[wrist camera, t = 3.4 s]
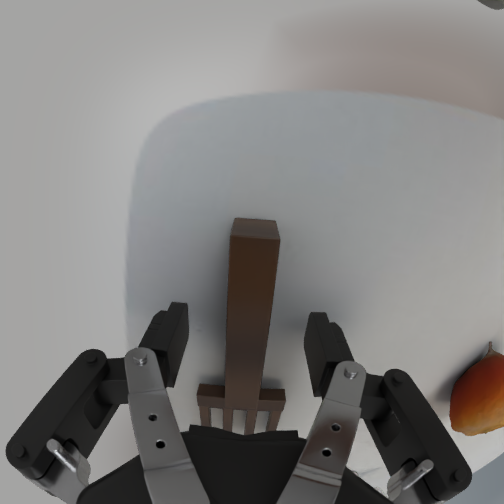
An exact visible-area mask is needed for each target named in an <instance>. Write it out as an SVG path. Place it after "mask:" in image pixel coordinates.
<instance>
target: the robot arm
mask: <svg viewBox="0 0 504 504" xmlns="http://www.w3.org/2000/svg"><path fill="white" fill-rule="evenodd" d="M188 337H189V320H188V305H187V303H180V302H172V303H171V305H170V307H169V309H168V311H162V310H161V311H160V312H158V313H157V314H156V315H155V316H154V317H153V319H152V321H151V324H150V325H149V327H148V329H147V331H146V333H145V334H144V336H143V338H142V340H141V342H140V344H139V346H138V348H134V349H132V350H130V351H129V352H127V354H126V355H125V357H124V358H111V359H107V358H106V355H105V354H104V352H102V351H100V350H98V349H90V350H86V351H84V352H83V353H81V354H80V355H79V356H78V357H77V358H76V360H75V361H74V362H73V363H72V364H71V365H70V366H69V368H68V369H67V370H66V371H65V372H64V373H63V375H62V376H61V377H60V378H59V379H58V380H57V381H56V383H55V384H54V385H53V386H52V388H51V389H50V390H49V391H48V393H46V395H45V396H44V397H43V398H42V400H41V401H40V402H39V403H38V404H37V406H36V407H35V408H34V409H33V411H32V412H31V413H30V415H29V416H28V417H27V418H26V420H25V421H24V422H23V423H22V425H21V426H20V427H19V429H18V430H17V431H16V433H15V434H14V436H13V437H12V438H11V439H10V441H9V442H8V444H7V446H6V456H7V459H8V461H9V462H10V464H11V465H12V466H14V467H15V468H16V469H17V470H19V471H20V472H21V473H22V474H23V476H25V477H26V478H27V479H29V480H30V481H31V482H32V483H34V484H35V485H36V486H38V487H39V488H41V489H43V490H45V491H46V492H47V493H49V494H50V495H52V496H55V497H58V498H60V499H61V500H63V501H64V502H66V503H67V504H443V503H445V502H446V501H448V500H449V499H451V498H453V497H454V496H455V495H457V494H459V493H460V492H462V491H463V490H465V489H466V488H467V487H468V486H469V484H470V482H471V480H472V472H471V469H470V467H469V465H468V464H467V462H466V460H465V459H464V457H463V456H462V454H461V452H460V451H459V449H458V447H457V446H456V444H455V443H454V441H453V439H452V438H451V436H450V435H449V433H448V432H447V430H446V429H445V427H444V426H443V424H442V422H441V421H440V419H439V418H438V416H437V415H436V413H435V412H434V410H433V409H432V408H431V406H430V405H429V403H428V402H427V400H426V399H425V397H424V396H423V394H422V393H421V391H420V390H419V389H418V387H417V386H416V384H415V383H414V382H413V380H412V379H411V377H410V376H409V375H408V374H407V373H406V372H404V371H402V370H399V369H391V370H388V371H387V372H386V373H385V374H384V376H378V375H372V374H368V373H366V370H365V368H364V367H363V366H362V365H361V364H359V363H357V362H355V361H354V359H353V356H352V354H351V351H350V349H349V346H348V344H347V343H346V342H347V341H346V339H345V337H344V334H343V331H342V329H341V328H340V327H339V326H338V325H337V324H336V323H335V322H329V320H328V317H327V314H326V313H325V312H311V313H310V315H309V319H308V323H307V328H306V332H305V336H304V350H305V355H306V359H307V364H308V369H309V374H310V379H311V384H312V389H313V394H314V397H321V396H322V403H321V406H320V408H319V411H318V413H317V415H316V418H315V420H314V423H313V425H312V427H311V430H310V432H309V434H308V436H307V438H306V439H304V438H300V437H298V431H297V430H289V431H267V432H261V433H256V434H250V435H240V434H237V433H233V432H230V431H226V430H223V429H219V428H216V427H207V426H199V425H191V424H190V427H189V431H185V432H180V430H179V427H178V424H177V421H176V419H175V416H174V413H173V410H172V406H171V403H170V400H169V397H168V394H167V391H166V387H172V388H174V385H175V381H176V378H177V375H178V371H179V368H180V364H181V361H182V358H183V354H184V351H185V348H186V345H187V341H188ZM120 404H129V409H130V414H131V419H132V424H133V429H134V434H135V438H136V442H137V447H138V451H139V455H137V456H136V457H135V458H133V459H132V460H130V461H128V462H127V463H125V464H123V465H122V466H120V467H119V468H117V469H116V470H114V471H112V472H110V473H109V474H107V475H106V476H104V477H102V478H100V479H98V480H97V481H95V482H93V483H92V484H90V485H89V483H88V478H89V475H90V470H91V468H90V464H89V462H88V461H87V458H88V457H89V455H90V453H91V452H92V450H93V448H94V446H95V445H96V443H97V441H98V440H99V438H100V436H101V435H102V433H103V431H104V430H105V428H106V427H107V425H108V423H109V422H110V420H111V418H112V417H113V415H114V413H115V412H116V410H117V409H118V407H119V405H120ZM395 415H396V416H395ZM360 418H363V420H364V422H365V424H366V426H367V428H368V430H369V432H370V434H371V436H372V438H373V440H374V442H375V445H376V447H377V449H378V451H379V453H380V455H381V457H382V459H383V461H384V463H385V466H386V468H387V470H388V472H389V474H390V476H391V477H390V479H389V481H388V483H387V494H388V498H387V497H385V496H384V495H383V494H381V493H380V492H378V491H377V490H376V489H374V488H373V487H372V486H370V485H369V484H368V483H366V482H365V481H364V480H362V479H361V478H360V477H358V476H357V475H356V474H355V473H353V472H352V471H351V470H350V469H348V468H347V467H346V464H347V461H348V458H349V455H350V451H351V448H352V445H353V441H354V438H355V434H356V431H357V427H358V423H359V419H360ZM399 422H400V423H399Z"/></svg>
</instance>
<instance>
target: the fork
mask: <svg viewBox="0 0 504 504" xmlns="http://www.w3.org/2000/svg"><path fill="white" fill-rule="evenodd" d="M279 248H280V236H279V232H278V228H277V224H276V221H271V220H258V219H244V218H235V219H234V223H233V227H232V231H231V235H230V249H229V271H228V296H227V325H226V363H225V386H219V385H209V384H201V383H200V384H199V386H198V391H197V402H198V406H199V410H200V418H201V426H207V427H212V426H211V410H210V407H212V408H222V409H223V430H226V431H230V432H232V423H233V409H234V410H247V414H246V423H245V431H244V435H250V434H254V428H255V422H256V416H257V411H270V413H269V417H268V421H267V426H266V430H265V432H267V431H276V429H277V425H278V422H279V419H280V415H281V412H282V411H283V409H284V405H285V402H286V397H285V389H266V388H260V387H261V380H262V374H263V367H264V360H265V354H266V347H267V340H268V333H269V326H270V318H271V311H272V303H273V296H274V288H275V280H276V272H277V264H278V256H279Z"/></svg>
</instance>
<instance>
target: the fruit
mask: <svg viewBox="0 0 504 504" xmlns="http://www.w3.org/2000/svg"><path fill="white" fill-rule="evenodd" d="M449 417H450V420H451V427H452V429H453V430H454V431H457V432H462V433H464V434H465V435H466V436H474V435H477V434H482V433H485V434H486V433H487V432H490V431H493V430H495V429H498V428H501V427H504V355H502V354H500V353H498V352H496V351H494V350H493V349H492V342H489V350H488V353H487V354H486V356H485V357H484V358H483V359H482V360H480V361H479V362H478V363H476V364H475V365H473V366H472V367H470V368H469V369H468V370H467V371H466V372H465V373H464V375H463V376H462V377H461V378H460V379H459V380H457V381H456V382H455V385H454V387H453V390H452V394H451V400H450V414H449Z"/></svg>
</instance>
